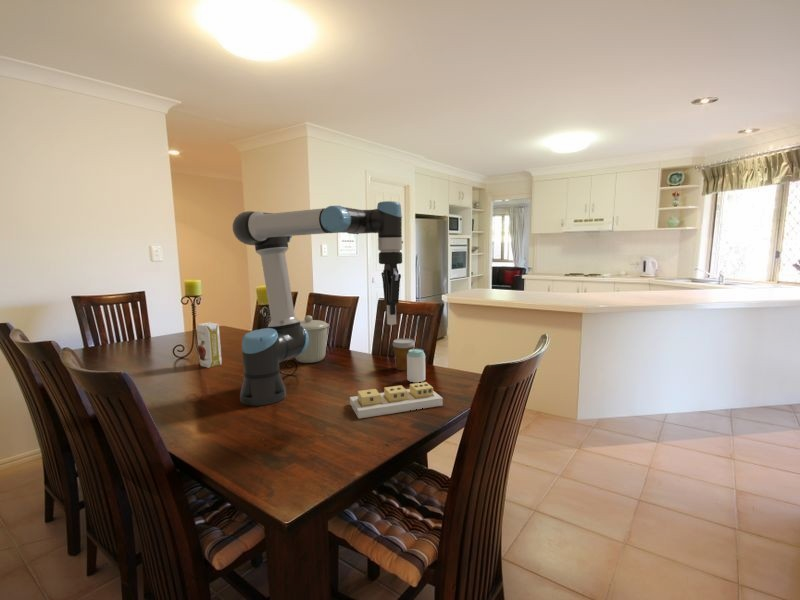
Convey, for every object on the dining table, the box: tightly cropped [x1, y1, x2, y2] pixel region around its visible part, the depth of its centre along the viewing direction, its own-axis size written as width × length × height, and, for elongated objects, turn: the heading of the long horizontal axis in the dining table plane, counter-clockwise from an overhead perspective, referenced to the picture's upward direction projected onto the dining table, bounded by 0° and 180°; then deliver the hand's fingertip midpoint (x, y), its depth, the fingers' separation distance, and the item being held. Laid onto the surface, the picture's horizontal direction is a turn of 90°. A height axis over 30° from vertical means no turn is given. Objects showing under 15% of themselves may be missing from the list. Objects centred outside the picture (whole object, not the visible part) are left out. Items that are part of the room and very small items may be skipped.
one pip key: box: [357, 388, 381, 407], centre depth 128 cm, size 6×6×4 cm
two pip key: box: [383, 385, 408, 403], centre depth 131 cm, size 6×6×4 cm
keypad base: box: [349, 388, 444, 420], centre depth 132 cm, size 28×12×2 cm, turn 109°
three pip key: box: [409, 381, 434, 399], centre depth 134 cm, size 6×6×4 cm
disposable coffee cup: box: [391, 338, 416, 371], centre depth 171 cm, size 10×10×12 cm
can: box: [406, 348, 426, 384], centre depth 155 cm, size 7×7×12 cm
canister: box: [294, 314, 330, 364], centre depth 185 cm, size 18×18×21 cm
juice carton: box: [196, 321, 222, 369], centre depth 179 cm, size 8×9×19 cm
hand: (391, 324), depth 131 cm, fingers closed
